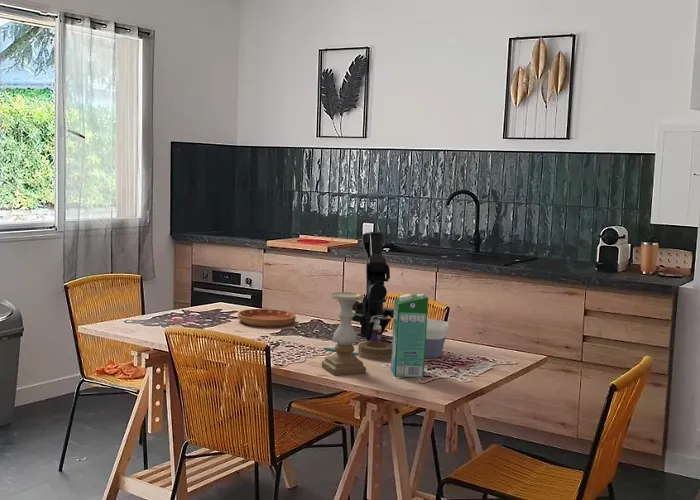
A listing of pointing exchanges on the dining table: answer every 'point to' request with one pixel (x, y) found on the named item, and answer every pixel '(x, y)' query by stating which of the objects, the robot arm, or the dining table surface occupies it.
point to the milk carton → (409, 335)
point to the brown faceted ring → (375, 350)
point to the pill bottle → (376, 331)
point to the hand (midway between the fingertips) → (373, 339)
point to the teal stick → (335, 351)
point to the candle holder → (344, 339)
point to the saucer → (266, 317)
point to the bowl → (435, 337)
